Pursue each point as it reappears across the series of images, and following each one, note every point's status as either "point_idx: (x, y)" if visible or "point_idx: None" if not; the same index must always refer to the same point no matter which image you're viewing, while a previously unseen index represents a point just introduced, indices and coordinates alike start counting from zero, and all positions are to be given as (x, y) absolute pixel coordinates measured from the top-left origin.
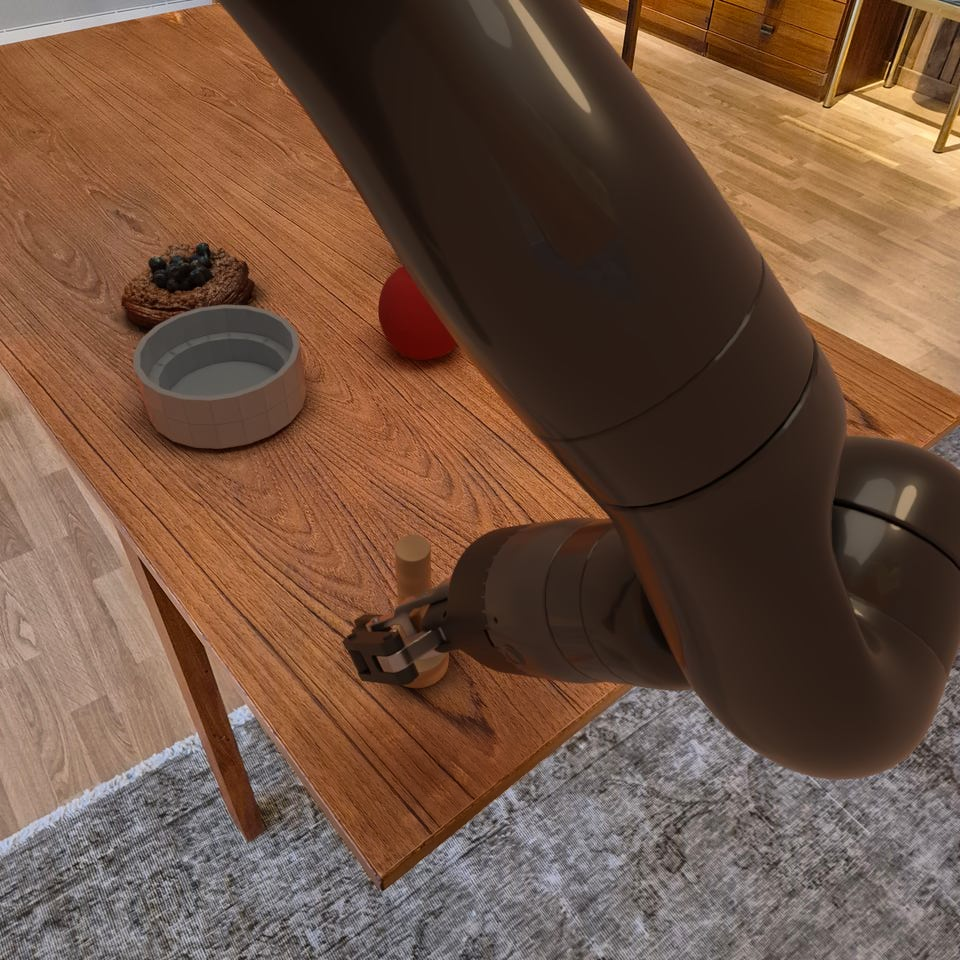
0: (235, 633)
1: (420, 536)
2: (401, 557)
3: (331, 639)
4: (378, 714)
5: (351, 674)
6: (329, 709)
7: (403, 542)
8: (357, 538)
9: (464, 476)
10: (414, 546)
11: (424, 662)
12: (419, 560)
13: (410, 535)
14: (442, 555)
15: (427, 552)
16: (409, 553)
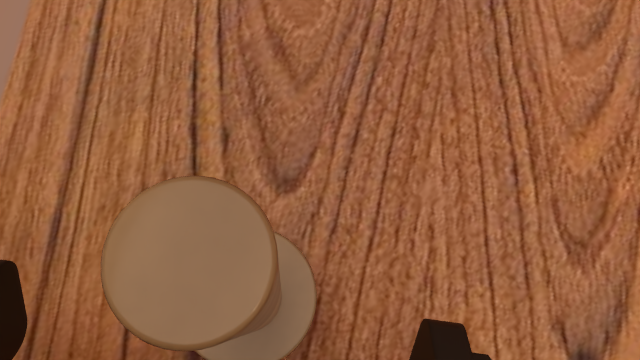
0: (67, 12)
1: (266, 234)
2: (101, 270)
3: (174, 140)
4: (109, 334)
5: None
6: (56, 256)
7: (182, 205)
8: (372, 4)
9: (633, 34)
10: (199, 261)
11: (224, 343)
12: (152, 343)
13: (236, 197)
14: (467, 144)
15: (215, 336)
16: (150, 276)
